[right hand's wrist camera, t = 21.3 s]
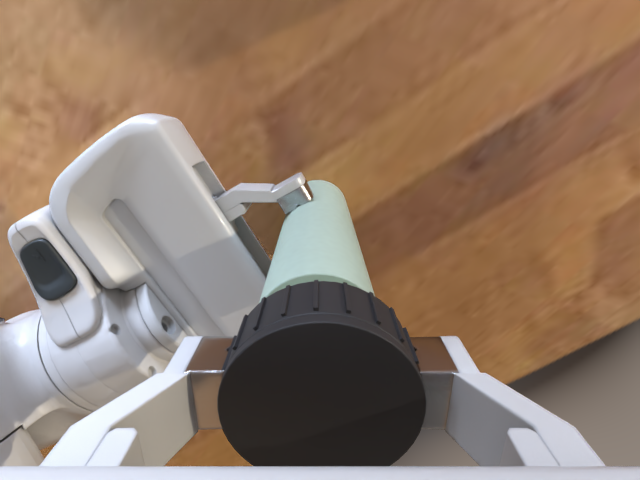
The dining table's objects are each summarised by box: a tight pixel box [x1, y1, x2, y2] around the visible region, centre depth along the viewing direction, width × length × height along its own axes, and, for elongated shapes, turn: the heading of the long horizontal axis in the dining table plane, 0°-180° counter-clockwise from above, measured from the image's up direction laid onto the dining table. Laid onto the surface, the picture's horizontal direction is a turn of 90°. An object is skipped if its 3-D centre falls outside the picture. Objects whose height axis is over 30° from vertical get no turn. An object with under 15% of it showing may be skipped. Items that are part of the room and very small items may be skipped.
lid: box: [217, 280, 426, 466], centre depth 10 cm, size 5×5×2 cm
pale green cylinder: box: [259, 180, 375, 303], centre depth 19 cm, size 4×4×18 cm
